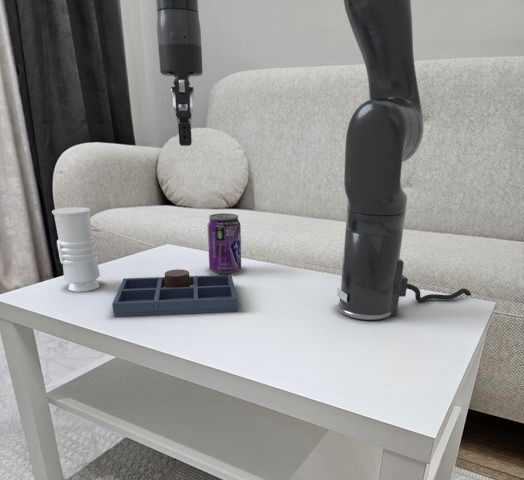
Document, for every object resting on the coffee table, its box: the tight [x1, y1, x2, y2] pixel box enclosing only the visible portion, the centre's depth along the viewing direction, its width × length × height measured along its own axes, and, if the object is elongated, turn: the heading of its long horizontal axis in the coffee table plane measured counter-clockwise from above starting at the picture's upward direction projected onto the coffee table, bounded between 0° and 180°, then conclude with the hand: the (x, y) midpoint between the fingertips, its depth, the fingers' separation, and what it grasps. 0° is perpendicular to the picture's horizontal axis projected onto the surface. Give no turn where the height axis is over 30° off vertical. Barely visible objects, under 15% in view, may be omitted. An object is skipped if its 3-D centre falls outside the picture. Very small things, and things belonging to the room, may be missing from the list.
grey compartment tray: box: [111, 274, 239, 318], centre depth 88 cm, size 21×14×2 cm
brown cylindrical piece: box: [164, 268, 190, 288], centre depth 90 cm, size 5×5×4 cm
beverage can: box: [206, 212, 242, 275], centre depth 103 cm, size 7×7×12 cm
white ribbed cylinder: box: [51, 206, 101, 293], centre depth 92 cm, size 7×7×15 cm
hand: (185, 144), depth 90 cm, fingers open, 8 cm apart
